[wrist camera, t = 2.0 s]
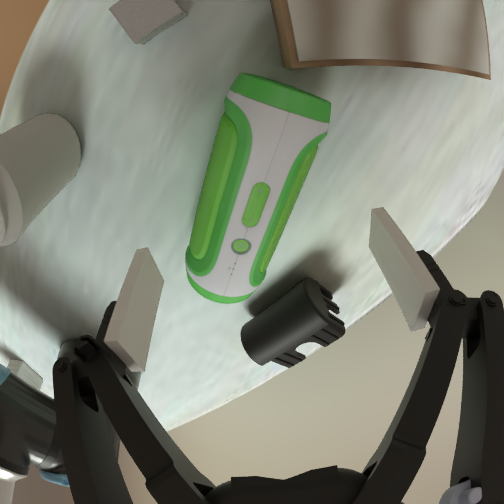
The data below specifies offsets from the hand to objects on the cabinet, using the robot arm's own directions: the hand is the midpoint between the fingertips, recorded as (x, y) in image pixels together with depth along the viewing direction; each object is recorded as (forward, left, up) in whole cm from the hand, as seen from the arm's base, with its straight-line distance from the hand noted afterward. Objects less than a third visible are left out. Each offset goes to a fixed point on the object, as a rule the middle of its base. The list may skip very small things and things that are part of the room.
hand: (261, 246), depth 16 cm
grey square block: (-5, +16, -11) cm, 20 cm away
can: (-17, +8, -11) cm, 22 cm away
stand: (+14, +16, -10) cm, 23 cm away
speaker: (0, 0, -11) cm, 11 cm away
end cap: (+1, -17, -11) cm, 20 cm away
